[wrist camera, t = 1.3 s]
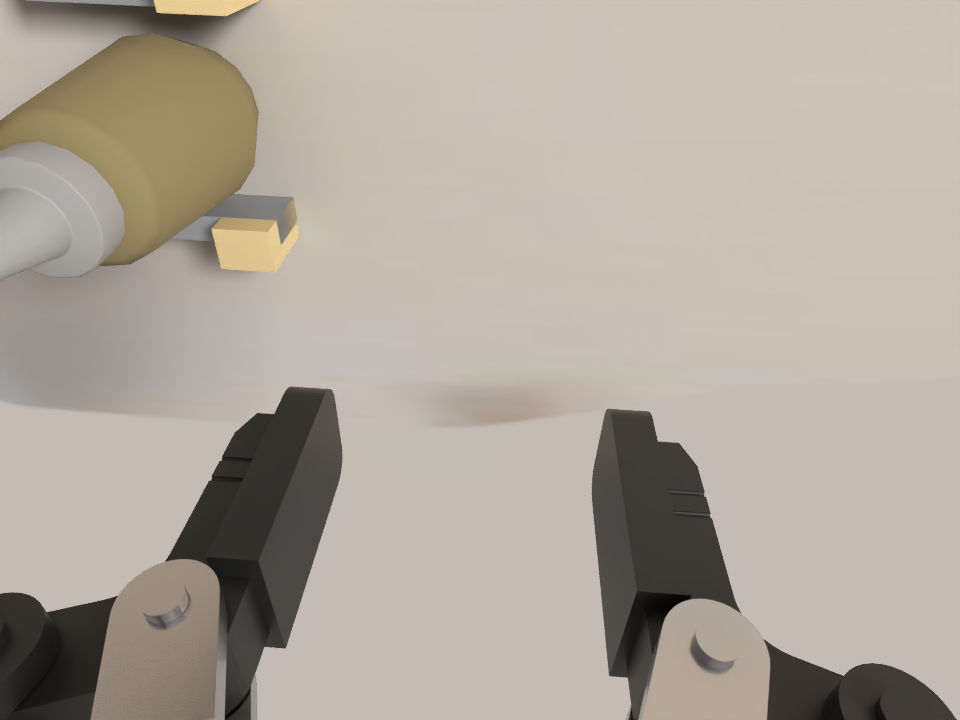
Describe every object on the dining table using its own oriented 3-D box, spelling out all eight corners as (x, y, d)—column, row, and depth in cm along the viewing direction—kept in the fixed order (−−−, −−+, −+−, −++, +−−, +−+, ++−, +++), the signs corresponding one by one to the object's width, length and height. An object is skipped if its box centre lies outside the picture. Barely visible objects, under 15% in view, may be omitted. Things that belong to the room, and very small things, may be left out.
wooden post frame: (-150, -121, 28) (-288, -120, 23) (245, -104, 28) (185, -100, 23) (18, 242, 39) (-52, 292, 34) (302, 259, 39) (271, 313, 34)
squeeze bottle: (145, 168, 36) (-110, 362, 21) (108, 8, 31) (-257, 123, 17) (287, 185, 36) (125, 390, 22) (272, 28, 31) (49, 160, 17)
